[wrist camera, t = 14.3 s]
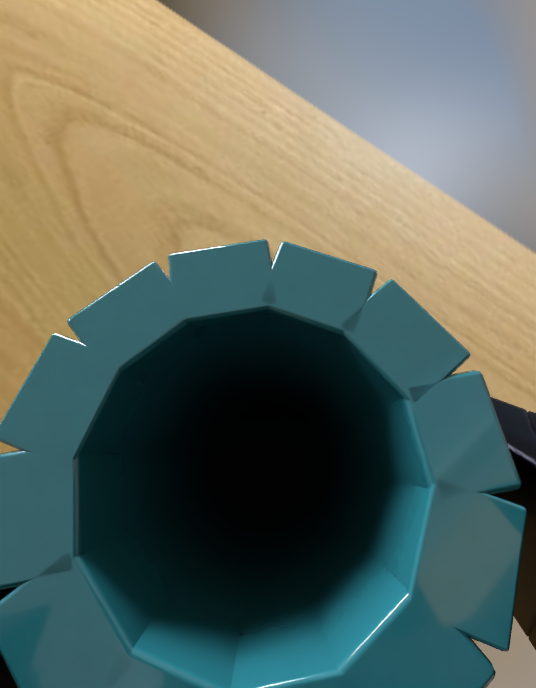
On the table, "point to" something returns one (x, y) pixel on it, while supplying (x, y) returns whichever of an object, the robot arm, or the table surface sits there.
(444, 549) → the slatted teal pen holder
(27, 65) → the table surface
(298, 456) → the pad
